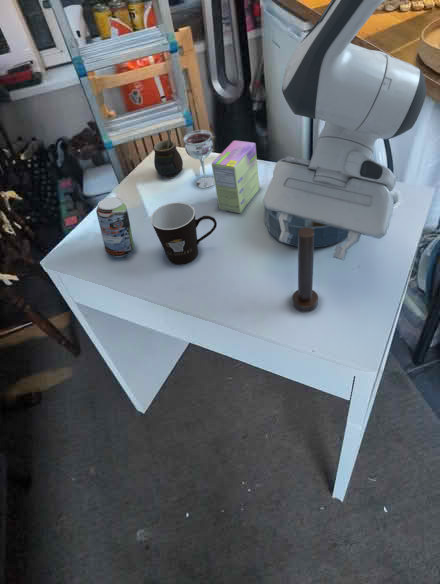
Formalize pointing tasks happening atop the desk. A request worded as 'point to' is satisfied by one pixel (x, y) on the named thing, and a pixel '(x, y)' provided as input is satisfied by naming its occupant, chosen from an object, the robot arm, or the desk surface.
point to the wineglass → (200, 152)
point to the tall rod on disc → (305, 272)
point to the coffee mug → (179, 231)
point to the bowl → (321, 233)
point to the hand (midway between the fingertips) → (310, 250)
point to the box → (236, 176)
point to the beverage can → (115, 227)
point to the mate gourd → (167, 158)
